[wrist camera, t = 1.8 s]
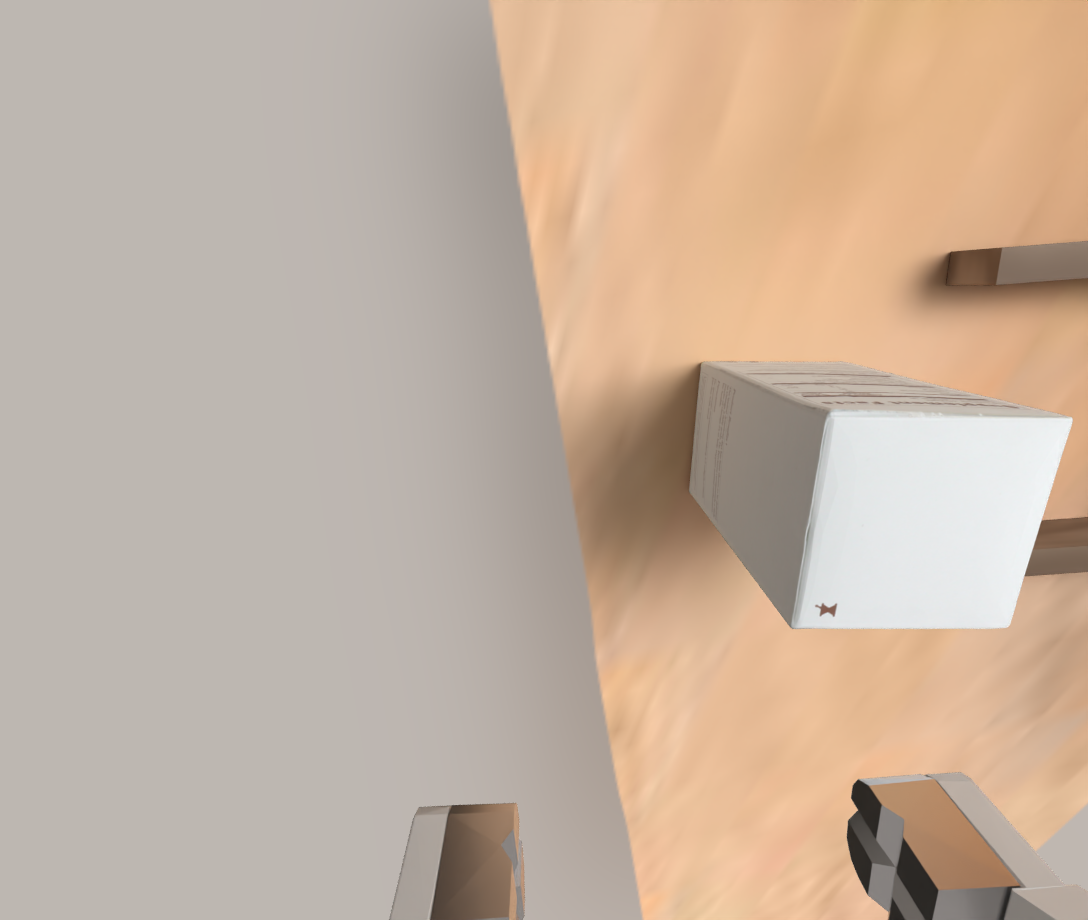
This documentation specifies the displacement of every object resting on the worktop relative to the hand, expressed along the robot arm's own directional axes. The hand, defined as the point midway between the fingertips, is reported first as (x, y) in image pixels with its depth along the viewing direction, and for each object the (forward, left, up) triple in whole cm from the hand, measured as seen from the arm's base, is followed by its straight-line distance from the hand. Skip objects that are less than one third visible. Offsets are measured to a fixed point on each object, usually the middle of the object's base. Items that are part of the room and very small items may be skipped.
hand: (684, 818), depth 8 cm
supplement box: (0, +10, -21) cm, 23 cm away
